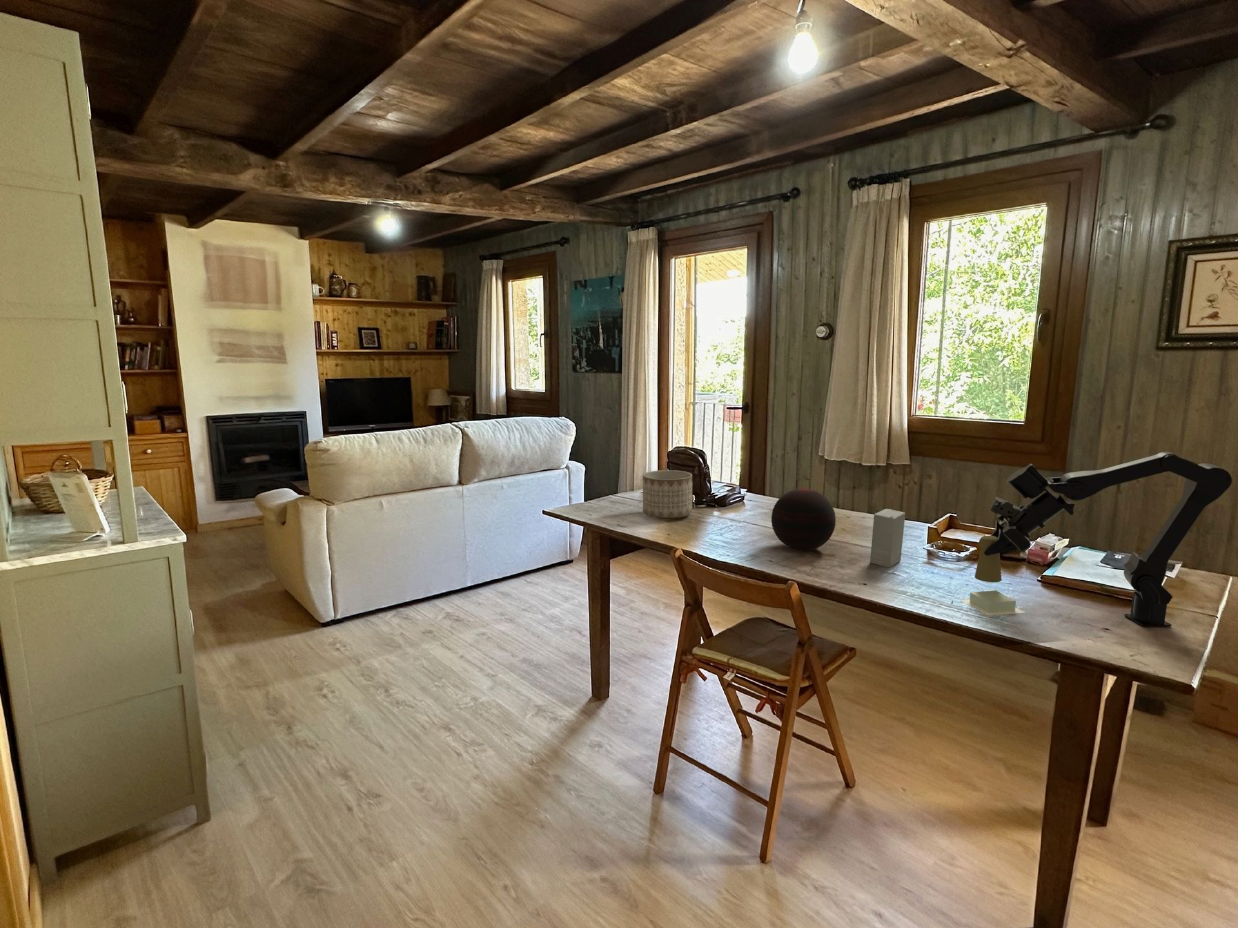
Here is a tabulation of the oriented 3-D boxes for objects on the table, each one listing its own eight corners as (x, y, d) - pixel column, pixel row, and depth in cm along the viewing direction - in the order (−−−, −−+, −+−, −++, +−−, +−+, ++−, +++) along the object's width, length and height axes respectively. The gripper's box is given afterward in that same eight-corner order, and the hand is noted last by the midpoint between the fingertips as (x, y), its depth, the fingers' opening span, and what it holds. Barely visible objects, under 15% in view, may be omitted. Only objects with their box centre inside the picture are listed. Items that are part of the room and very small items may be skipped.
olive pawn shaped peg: (975, 572, 174) (978, 532, 172) (1002, 576, 170) (1005, 535, 169) (973, 579, 169) (976, 538, 167) (1001, 583, 165) (1004, 541, 163)
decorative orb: (805, 537, 229) (807, 480, 226) (848, 553, 212) (850, 491, 208) (758, 545, 221) (759, 486, 217) (798, 562, 203) (800, 498, 200)
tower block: (1015, 610, 161) (1016, 600, 160) (988, 612, 160) (989, 602, 159) (995, 599, 167) (995, 590, 167) (969, 601, 166) (970, 592, 166)
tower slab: (1024, 618, 160) (1025, 612, 159) (986, 621, 158) (987, 615, 158) (995, 602, 169) (996, 597, 169) (959, 605, 168) (960, 599, 168)
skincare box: (880, 557, 207) (883, 507, 204) (903, 562, 202) (906, 511, 199) (868, 563, 201) (871, 512, 198) (891, 568, 196) (894, 516, 193)
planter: (645, 509, 273) (645, 469, 270) (692, 510, 270) (692, 470, 267) (640, 521, 254) (640, 479, 251) (691, 522, 251) (691, 479, 248)
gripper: (1008, 480, 172) (958, 518, 179) (1017, 495, 155) (962, 537, 162) (1041, 512, 170) (989, 549, 177) (1054, 531, 154) (996, 571, 160)
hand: (983, 550), depth 169 cm, fingers closed on olive pawn shaped peg, 5 cm apart
